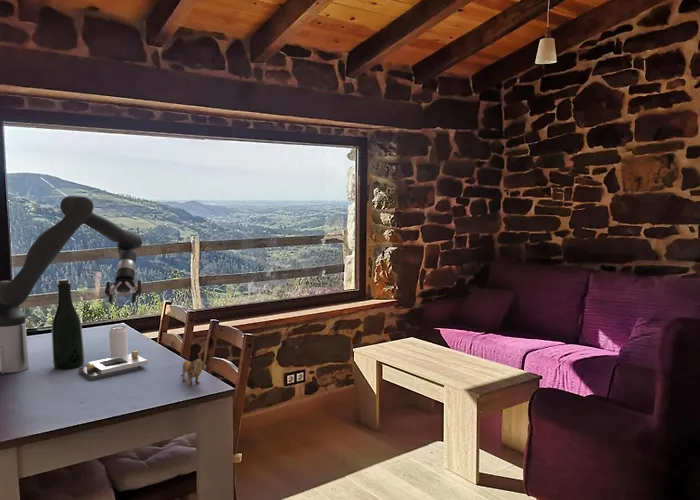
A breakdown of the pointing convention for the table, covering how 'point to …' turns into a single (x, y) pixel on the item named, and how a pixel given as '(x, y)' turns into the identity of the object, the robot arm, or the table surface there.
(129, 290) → the robot arm
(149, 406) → the table surface
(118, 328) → the can
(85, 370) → the lower link
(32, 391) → the table surface
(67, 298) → the green wine bottle
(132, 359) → the upper link
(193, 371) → the lion figurine
